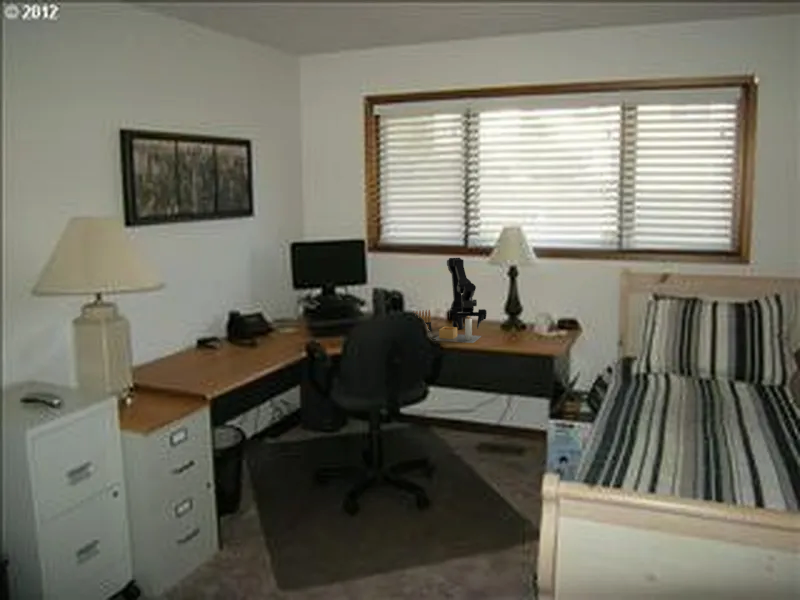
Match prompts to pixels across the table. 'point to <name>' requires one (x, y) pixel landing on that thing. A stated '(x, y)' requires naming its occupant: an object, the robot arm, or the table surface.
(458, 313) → the robot arm
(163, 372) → the table surface
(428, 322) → the ammunition clip
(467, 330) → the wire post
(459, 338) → the plate
